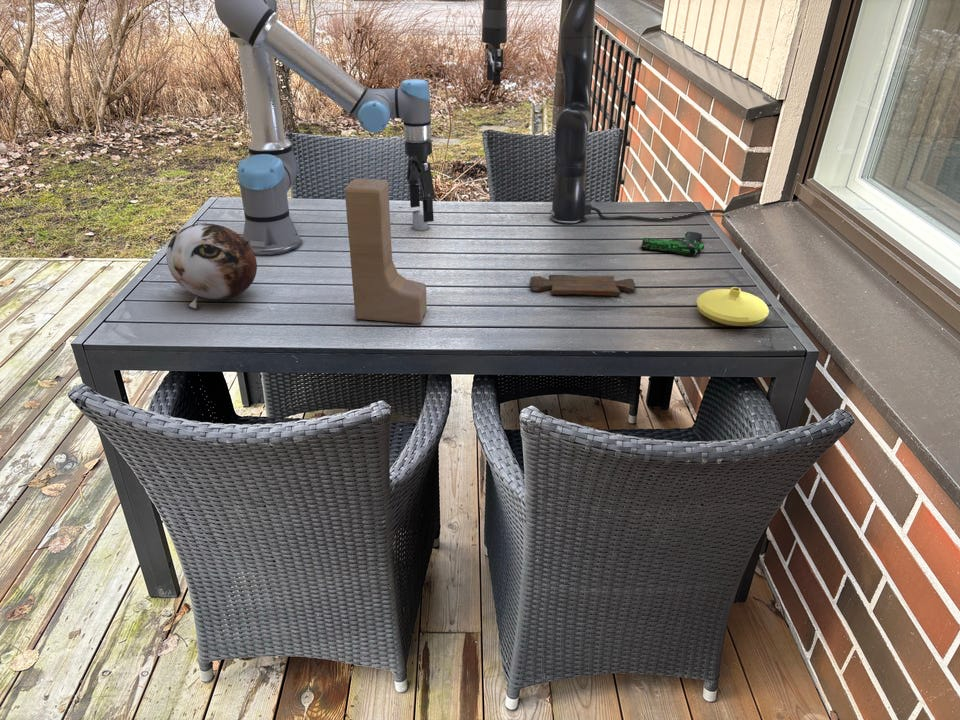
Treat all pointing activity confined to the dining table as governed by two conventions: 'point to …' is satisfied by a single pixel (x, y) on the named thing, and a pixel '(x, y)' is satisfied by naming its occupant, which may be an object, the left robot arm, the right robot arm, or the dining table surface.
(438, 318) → the dining table surface
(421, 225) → the can
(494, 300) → the dining table surface
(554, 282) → the wooden paddle board
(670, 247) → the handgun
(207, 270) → the plush toy
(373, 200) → the decorative block
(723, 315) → the yellow lid
